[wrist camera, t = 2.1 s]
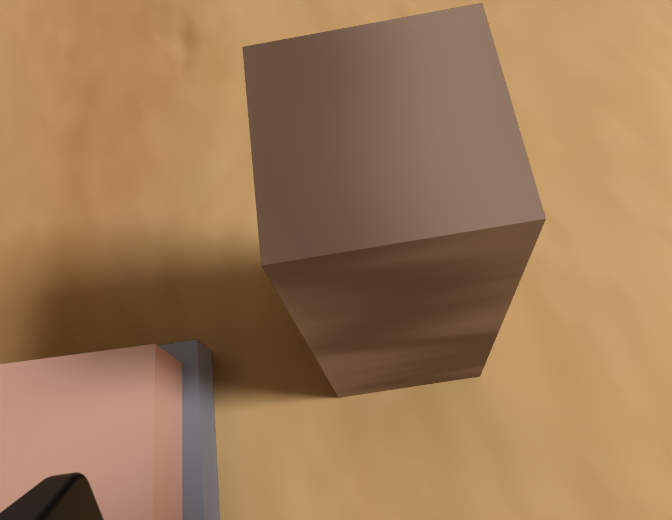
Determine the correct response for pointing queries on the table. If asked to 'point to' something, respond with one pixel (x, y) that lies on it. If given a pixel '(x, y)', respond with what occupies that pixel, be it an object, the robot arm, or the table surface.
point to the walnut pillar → (391, 195)
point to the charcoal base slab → (197, 431)
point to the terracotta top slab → (96, 428)
